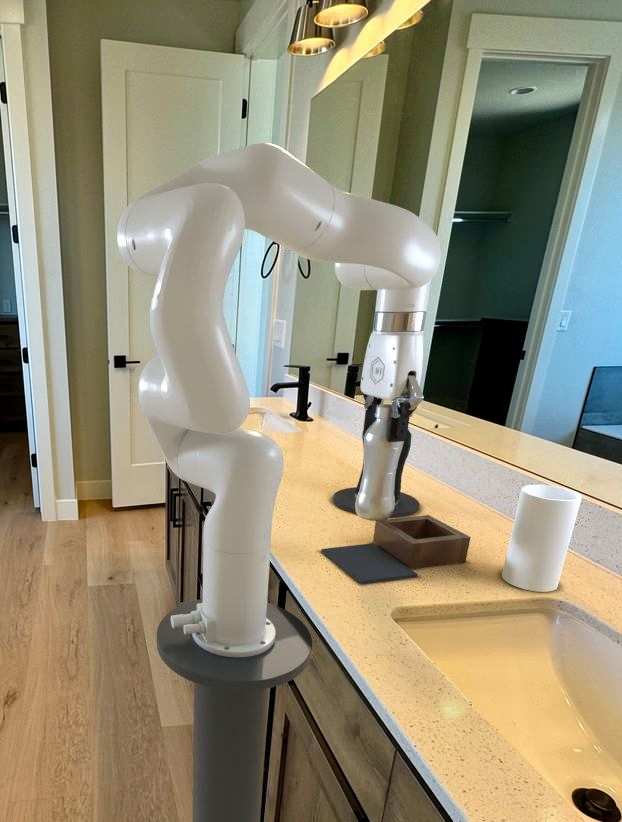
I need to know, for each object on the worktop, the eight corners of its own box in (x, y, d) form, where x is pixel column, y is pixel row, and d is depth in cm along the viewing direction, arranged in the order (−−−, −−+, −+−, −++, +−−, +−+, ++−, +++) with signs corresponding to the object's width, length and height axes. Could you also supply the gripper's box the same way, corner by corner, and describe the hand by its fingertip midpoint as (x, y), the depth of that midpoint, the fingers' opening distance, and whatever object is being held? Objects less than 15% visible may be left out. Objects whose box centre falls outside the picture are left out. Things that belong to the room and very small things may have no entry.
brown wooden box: (409, 569, 103) (413, 543, 101) (372, 543, 114) (375, 520, 112) (465, 561, 105) (470, 537, 104) (424, 537, 116) (428, 514, 114)
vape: (410, 523, 123) (429, 407, 114) (323, 508, 133) (334, 400, 124) (424, 498, 139) (442, 394, 129) (345, 486, 148) (356, 388, 139)
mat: (360, 584, 98) (361, 581, 98) (321, 551, 111) (321, 548, 110) (417, 576, 100) (417, 573, 100) (372, 545, 113) (372, 543, 113)
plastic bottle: (345, 516, 103) (358, 405, 96) (372, 509, 106) (387, 401, 99) (373, 527, 98) (388, 411, 91) (401, 520, 101) (418, 407, 93)
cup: (547, 597, 93) (571, 504, 87) (493, 579, 99) (513, 491, 93) (564, 581, 98) (589, 492, 92) (513, 565, 104) (532, 481, 98)
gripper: (348, 323, 97) (337, 427, 104) (411, 327, 81) (394, 450, 88) (387, 322, 99) (374, 425, 105) (457, 326, 83) (437, 447, 89)
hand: (383, 435), depth 97 cm, fingers closed on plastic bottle, 6 cm apart
